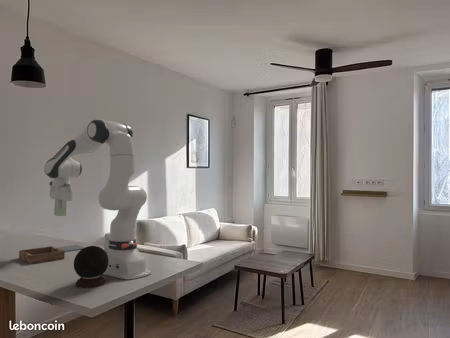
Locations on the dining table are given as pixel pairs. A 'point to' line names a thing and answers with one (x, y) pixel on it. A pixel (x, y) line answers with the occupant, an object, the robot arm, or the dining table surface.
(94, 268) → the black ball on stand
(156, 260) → the dining table surface
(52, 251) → the walnut crate
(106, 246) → the small box
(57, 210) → the green block
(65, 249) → the rubber mat
